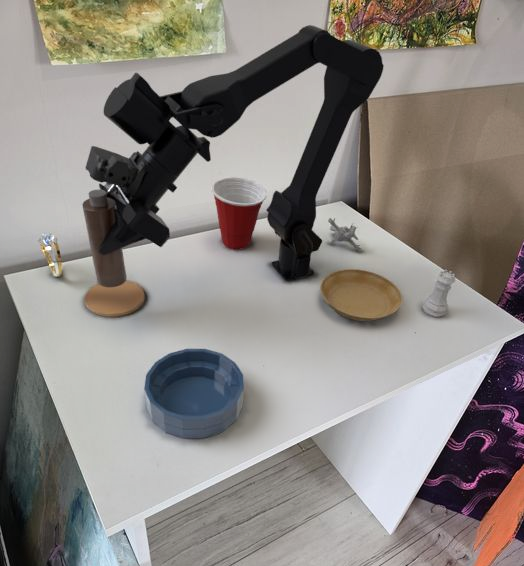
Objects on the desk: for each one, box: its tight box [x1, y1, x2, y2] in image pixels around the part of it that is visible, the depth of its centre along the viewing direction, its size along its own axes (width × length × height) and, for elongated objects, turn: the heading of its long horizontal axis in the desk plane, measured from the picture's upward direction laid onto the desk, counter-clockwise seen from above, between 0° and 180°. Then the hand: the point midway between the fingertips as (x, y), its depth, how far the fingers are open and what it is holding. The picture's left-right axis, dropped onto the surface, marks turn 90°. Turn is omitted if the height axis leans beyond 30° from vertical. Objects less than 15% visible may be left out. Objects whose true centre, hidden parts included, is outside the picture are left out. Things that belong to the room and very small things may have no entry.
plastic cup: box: [211, 176, 268, 251], centre depth 99 cm, size 11×11×12 cm
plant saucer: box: [319, 268, 403, 322], centre depth 89 cm, size 15×15×3 cm
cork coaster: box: [84, 280, 146, 318], centre depth 85 cm, size 10×10×1 cm
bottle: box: [82, 189, 127, 287], centre depth 74 cm, size 5×5×15 cm
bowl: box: [143, 348, 245, 439], centre depth 68 cm, size 13×13×4 cm
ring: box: [36, 232, 63, 278], centre depth 87 cm, size 7×3×8 cm, turn 32°
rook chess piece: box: [421, 269, 456, 318], centre depth 87 cm, size 4×4×8 cm
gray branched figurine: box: [327, 217, 362, 253], centre depth 104 cm, size 10×6×9 cm
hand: (96, 245), depth 74 cm, fingers closed on bottle, 4 cm apart
